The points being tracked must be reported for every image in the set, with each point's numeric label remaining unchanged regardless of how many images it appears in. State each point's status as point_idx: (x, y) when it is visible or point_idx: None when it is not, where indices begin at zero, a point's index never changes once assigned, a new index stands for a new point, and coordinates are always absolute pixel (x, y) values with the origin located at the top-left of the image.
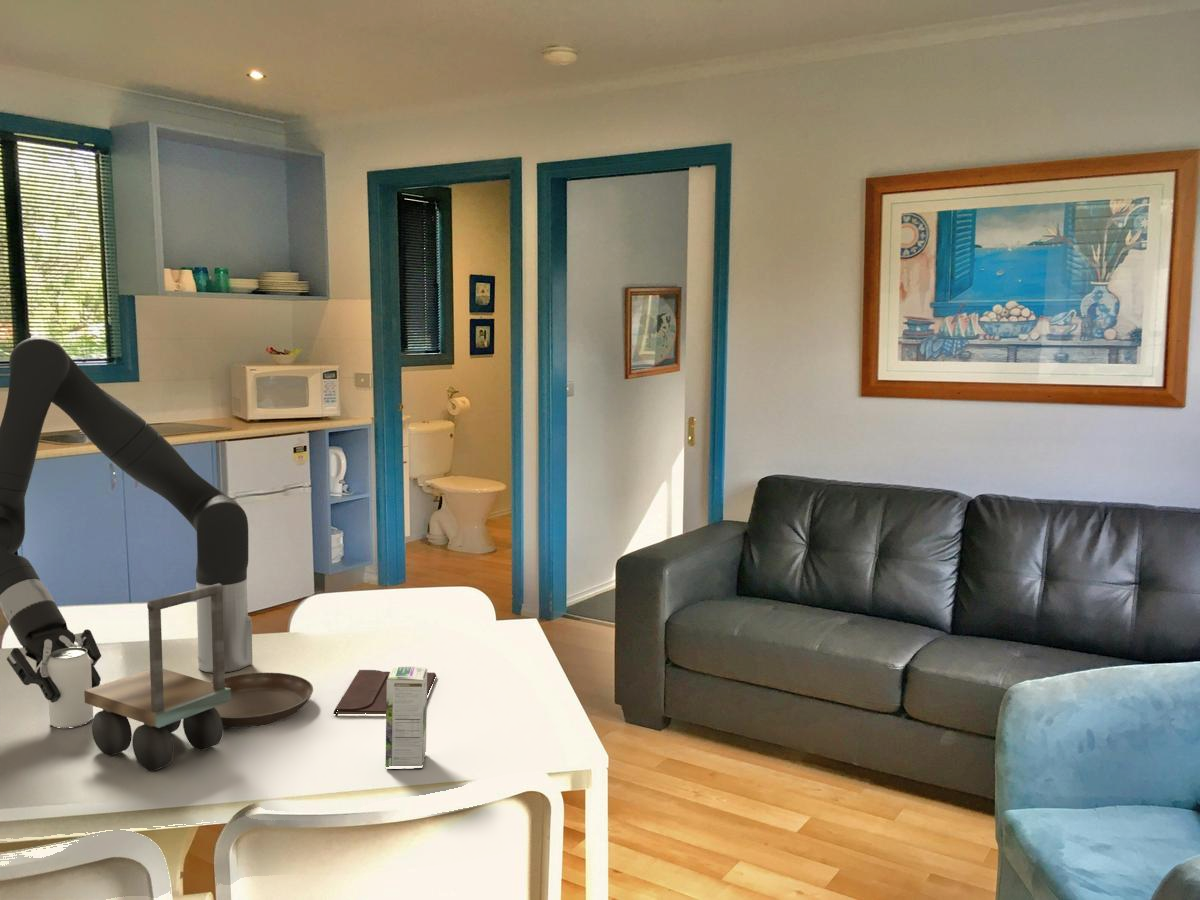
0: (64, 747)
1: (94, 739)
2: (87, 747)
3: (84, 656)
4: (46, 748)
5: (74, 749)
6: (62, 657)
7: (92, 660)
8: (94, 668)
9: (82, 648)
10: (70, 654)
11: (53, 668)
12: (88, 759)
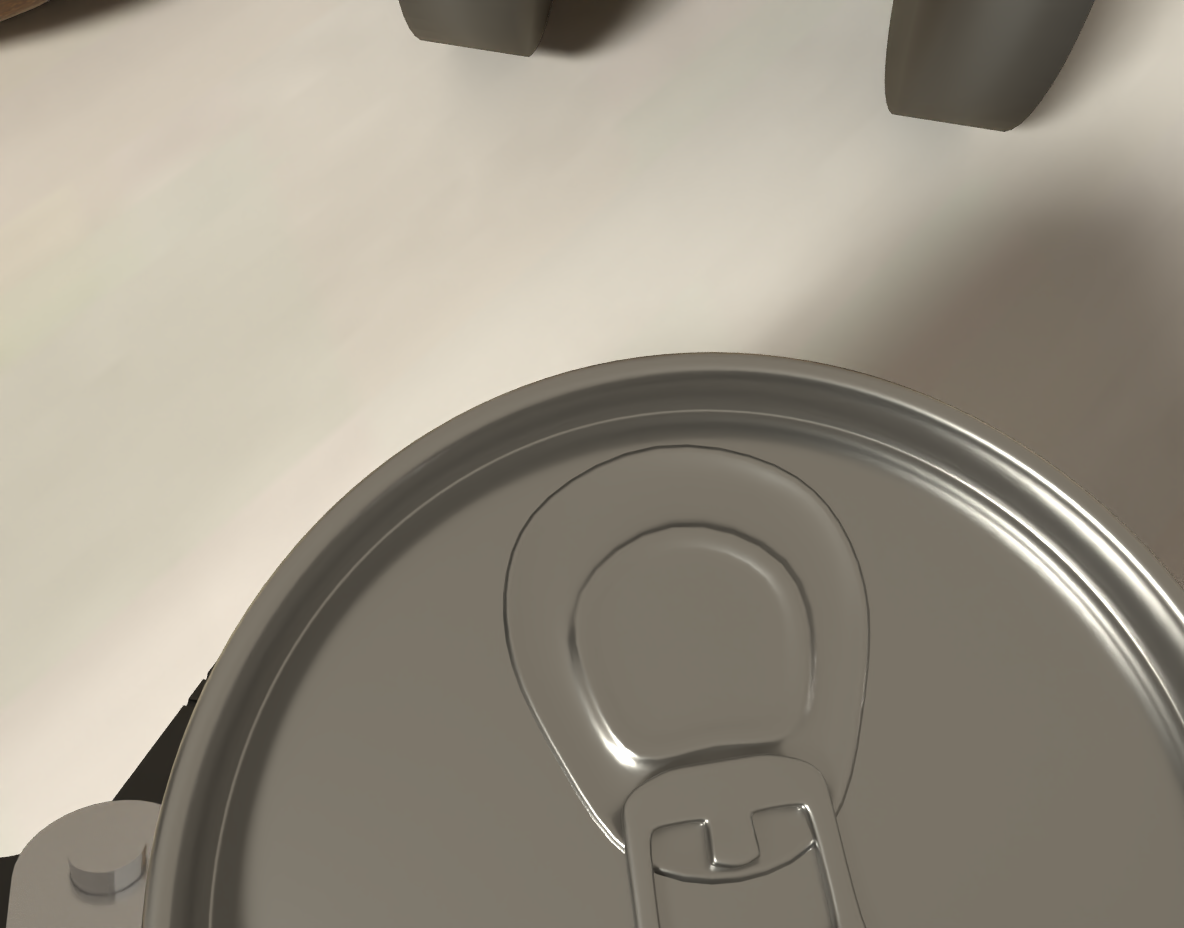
0: (1064, 436)
1: (1011, 126)
2: (963, 277)
3: (587, 411)
4: (1164, 556)
5: (1044, 335)
6: (1025, 820)
7: (40, 847)
8: (144, 777)
9: (180, 850)
10: (741, 789)
11: None
12: (1101, 120)
